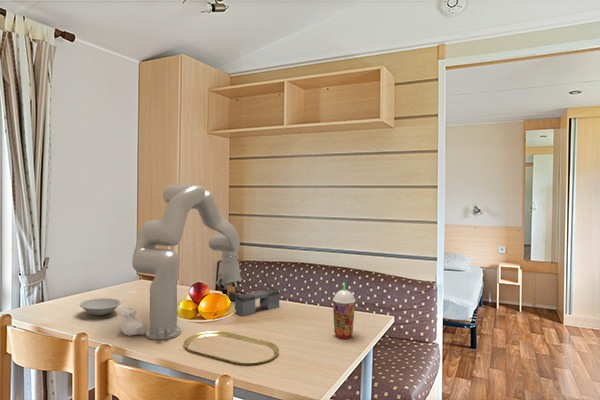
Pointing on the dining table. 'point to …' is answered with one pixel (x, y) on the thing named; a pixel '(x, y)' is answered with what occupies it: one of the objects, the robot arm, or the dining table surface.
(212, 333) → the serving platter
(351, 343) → the dining table surface
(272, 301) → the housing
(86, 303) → the dish
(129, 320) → the duck figurine
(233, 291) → the plug
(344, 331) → the smoothie
